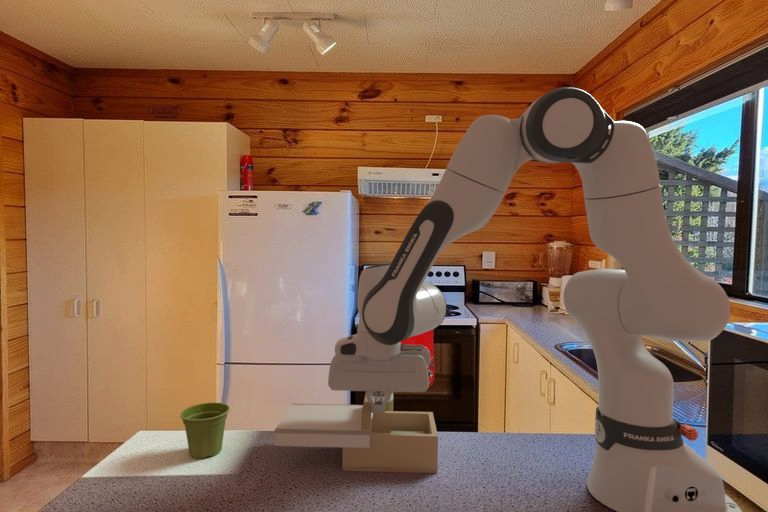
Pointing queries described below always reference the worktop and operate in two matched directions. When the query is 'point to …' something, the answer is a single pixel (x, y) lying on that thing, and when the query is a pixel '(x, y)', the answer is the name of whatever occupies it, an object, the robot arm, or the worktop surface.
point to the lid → (326, 426)
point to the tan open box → (397, 444)
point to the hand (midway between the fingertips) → (378, 411)
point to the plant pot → (205, 428)
